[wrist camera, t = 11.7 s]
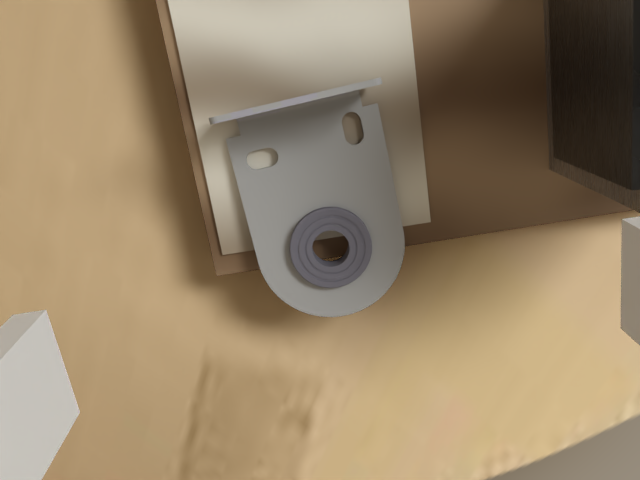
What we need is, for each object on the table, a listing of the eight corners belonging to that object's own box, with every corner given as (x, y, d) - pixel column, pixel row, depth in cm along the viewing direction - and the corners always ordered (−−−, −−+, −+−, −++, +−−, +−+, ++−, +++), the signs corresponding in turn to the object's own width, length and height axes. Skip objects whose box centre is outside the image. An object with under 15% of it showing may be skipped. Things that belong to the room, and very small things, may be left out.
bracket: (276, 321, 28) (274, 357, 25) (218, 109, 25) (206, 118, 22) (413, 291, 28) (429, 323, 25) (371, 73, 25) (382, 76, 22)
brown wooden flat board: (154, -49, 25) (141, -58, 23) (686, -136, 25) (721, -152, 23) (221, 261, 30) (216, 277, 28) (677, 189, 29) (705, 199, 27)
